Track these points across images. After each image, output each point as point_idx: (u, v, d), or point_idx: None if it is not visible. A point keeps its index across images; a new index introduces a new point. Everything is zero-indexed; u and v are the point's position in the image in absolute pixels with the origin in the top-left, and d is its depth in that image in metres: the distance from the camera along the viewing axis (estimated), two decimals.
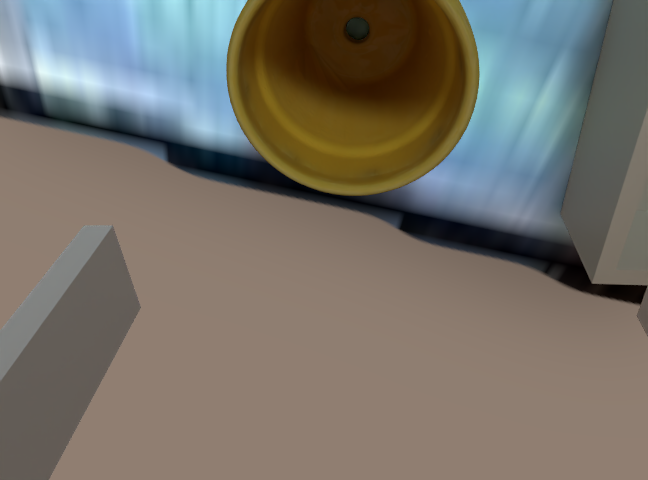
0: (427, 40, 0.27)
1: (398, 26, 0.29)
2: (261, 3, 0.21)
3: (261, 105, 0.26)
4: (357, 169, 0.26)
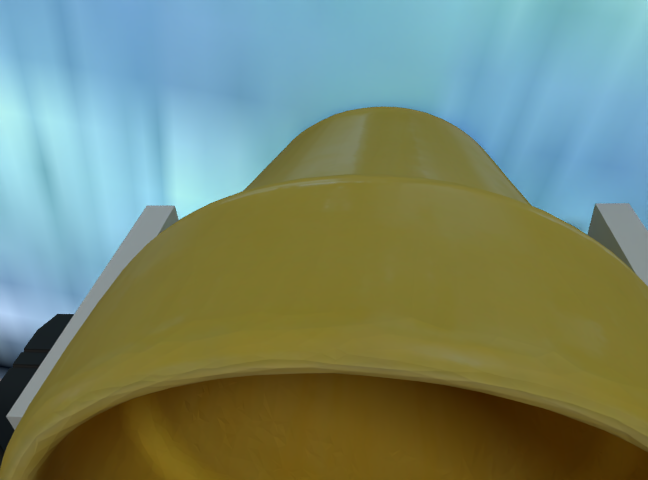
0: None
1: None
2: (62, 437, 0.06)
3: None
4: None
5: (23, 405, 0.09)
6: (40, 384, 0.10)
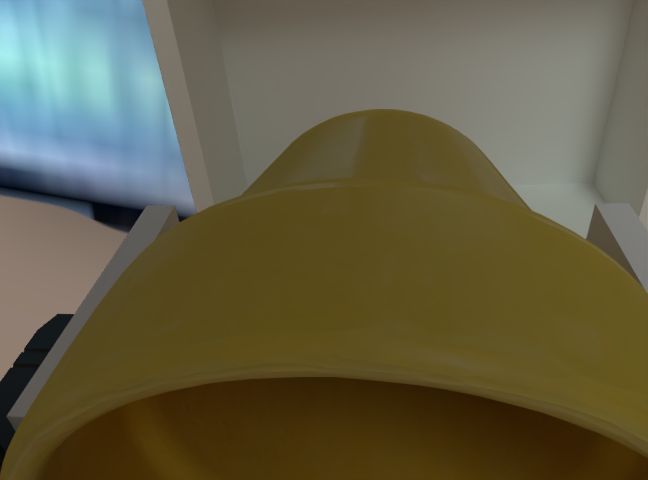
0: None
1: None
2: (63, 439, 0.06)
3: None
4: None
5: (23, 405, 0.09)
6: (40, 384, 0.10)
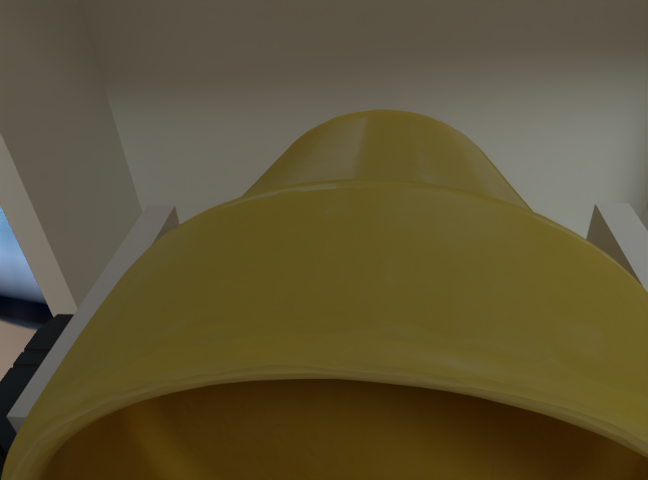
0: None
1: None
2: (65, 441, 0.06)
3: None
4: None
5: (23, 405, 0.09)
6: (40, 384, 0.10)
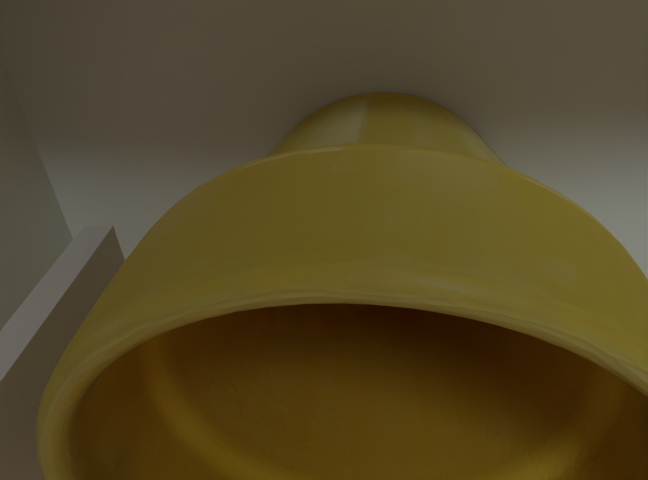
0: None
1: None
2: (99, 372, 0.07)
3: (166, 458, 0.11)
4: None
5: None
6: None
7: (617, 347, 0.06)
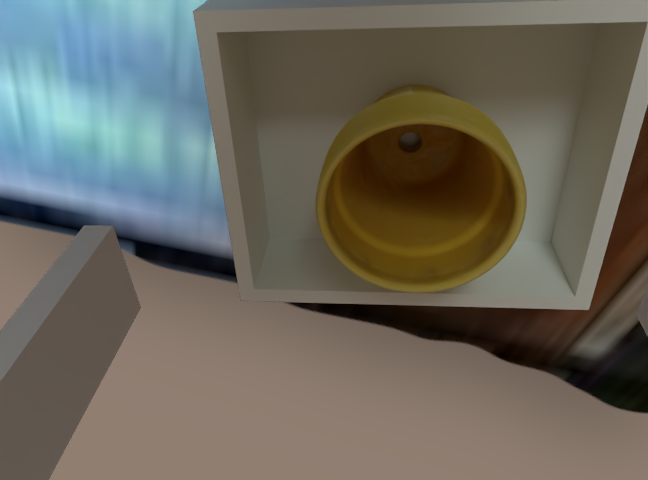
0: (473, 156, 0.32)
1: (446, 139, 0.34)
2: (350, 150, 0.26)
3: (337, 217, 0.30)
4: (417, 268, 0.31)
5: None
6: None
7: (483, 133, 0.25)
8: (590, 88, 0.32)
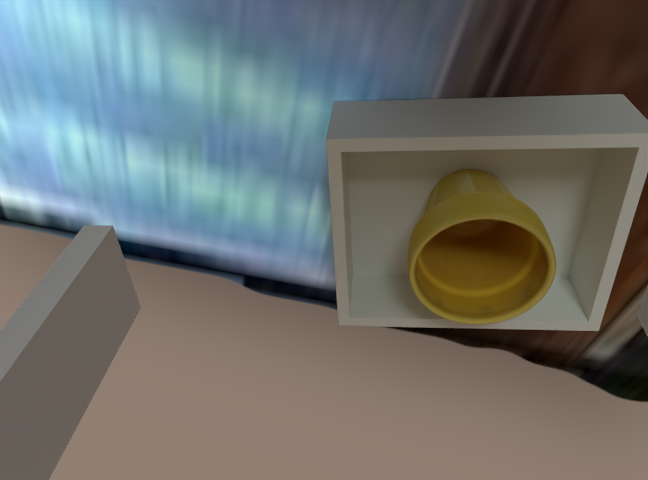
0: None
1: None
2: (436, 234, 0.38)
3: (419, 272, 0.43)
4: (475, 306, 0.44)
5: None
6: None
7: (528, 225, 0.37)
8: (600, 173, 0.44)
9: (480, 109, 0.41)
